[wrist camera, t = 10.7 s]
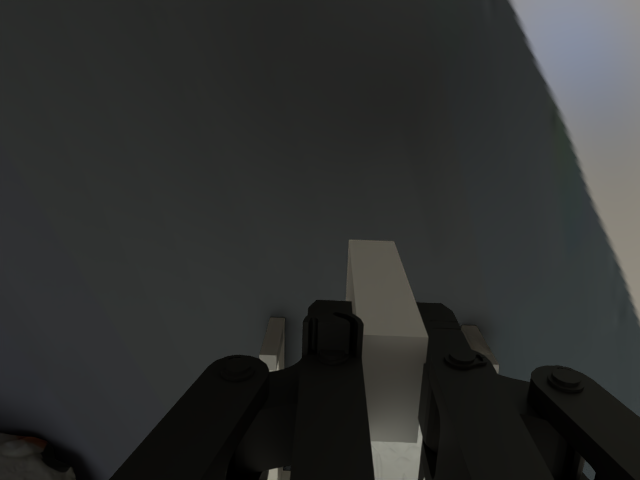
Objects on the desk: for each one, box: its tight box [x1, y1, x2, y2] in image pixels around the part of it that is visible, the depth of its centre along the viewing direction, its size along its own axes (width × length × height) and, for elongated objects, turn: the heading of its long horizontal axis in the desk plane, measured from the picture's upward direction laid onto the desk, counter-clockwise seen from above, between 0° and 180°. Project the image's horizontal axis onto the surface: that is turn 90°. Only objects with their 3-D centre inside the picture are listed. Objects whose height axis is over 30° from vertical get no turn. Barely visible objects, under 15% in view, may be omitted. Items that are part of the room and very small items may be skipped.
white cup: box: [371, 425, 425, 480], centre depth 32 cm, size 8×8×10 cm
